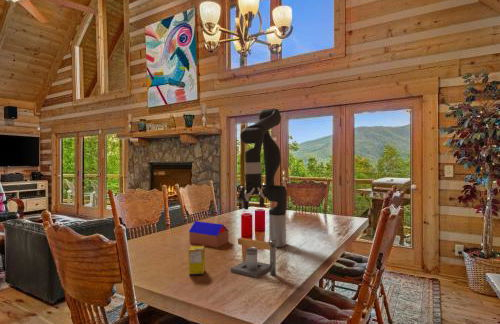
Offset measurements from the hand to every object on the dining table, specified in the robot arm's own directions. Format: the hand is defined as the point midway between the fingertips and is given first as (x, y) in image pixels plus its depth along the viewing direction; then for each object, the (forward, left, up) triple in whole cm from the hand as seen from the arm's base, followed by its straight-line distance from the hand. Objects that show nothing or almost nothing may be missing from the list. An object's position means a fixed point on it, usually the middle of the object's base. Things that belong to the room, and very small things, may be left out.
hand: (254, 207), depth 142 cm
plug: (+6, +2, -26) cm, 27 cm away
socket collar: (+6, +2, -26) cm, 27 cm away
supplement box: (+21, -16, -26) cm, 37 cm away
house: (-18, -42, -27) cm, 53 cm away
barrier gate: (+6, +5, -26) cm, 27 cm away
